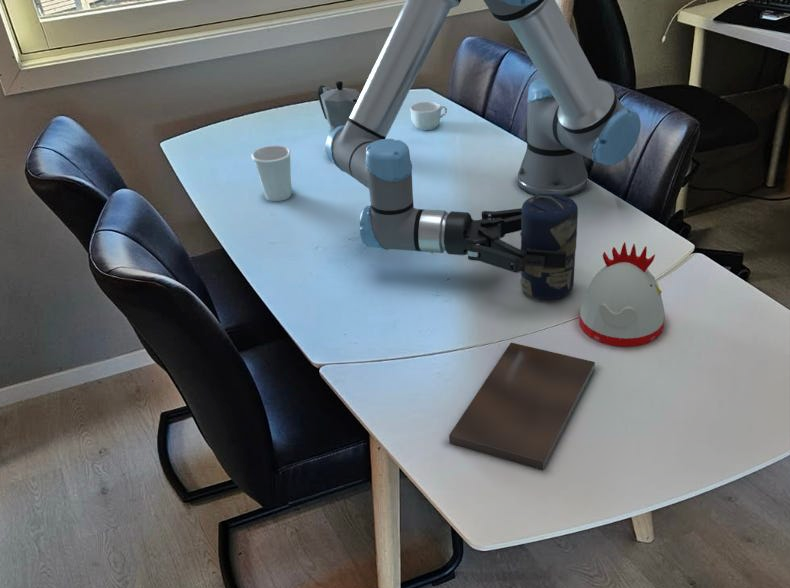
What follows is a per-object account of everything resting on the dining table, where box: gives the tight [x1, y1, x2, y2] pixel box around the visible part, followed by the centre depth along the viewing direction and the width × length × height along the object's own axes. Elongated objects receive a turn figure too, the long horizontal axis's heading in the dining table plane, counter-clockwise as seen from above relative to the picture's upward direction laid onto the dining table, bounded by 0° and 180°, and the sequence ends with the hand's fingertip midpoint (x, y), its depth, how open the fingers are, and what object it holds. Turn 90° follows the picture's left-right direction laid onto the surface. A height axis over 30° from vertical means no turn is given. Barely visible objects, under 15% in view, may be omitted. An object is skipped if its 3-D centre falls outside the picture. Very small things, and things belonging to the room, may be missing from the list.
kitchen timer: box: [578, 241, 665, 348], centre depth 136 cm, size 14×14×15 cm
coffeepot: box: [316, 80, 361, 135], centre depth 197 cm, size 15×9×18 cm, turn 44°
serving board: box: [448, 342, 596, 471], centre depth 124 cm, size 24×14×2 cm, turn 155°
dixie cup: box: [251, 144, 292, 202], centre depth 182 cm, size 8×8×10 cm
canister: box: [519, 194, 579, 300], centre depth 145 cm, size 10×10×18 cm
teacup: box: [409, 100, 448, 131], centre depth 213 cm, size 10×8×5 cm
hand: (570, 241), depth 143 cm, fingers open, 12 cm apart
